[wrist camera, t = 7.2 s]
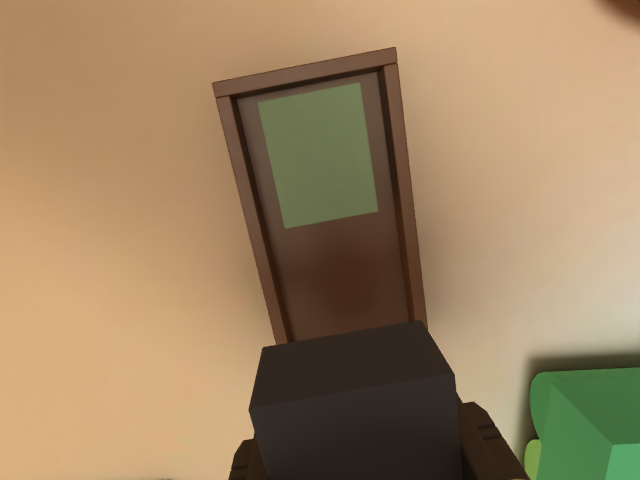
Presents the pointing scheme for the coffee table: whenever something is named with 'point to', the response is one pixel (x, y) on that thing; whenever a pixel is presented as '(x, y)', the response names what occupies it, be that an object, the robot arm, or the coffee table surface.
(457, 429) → the charcoal block
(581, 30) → the coffee table surface
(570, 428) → the toy tank
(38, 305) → the coffee table surface
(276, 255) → the brown wooden tray
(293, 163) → the sage pad
